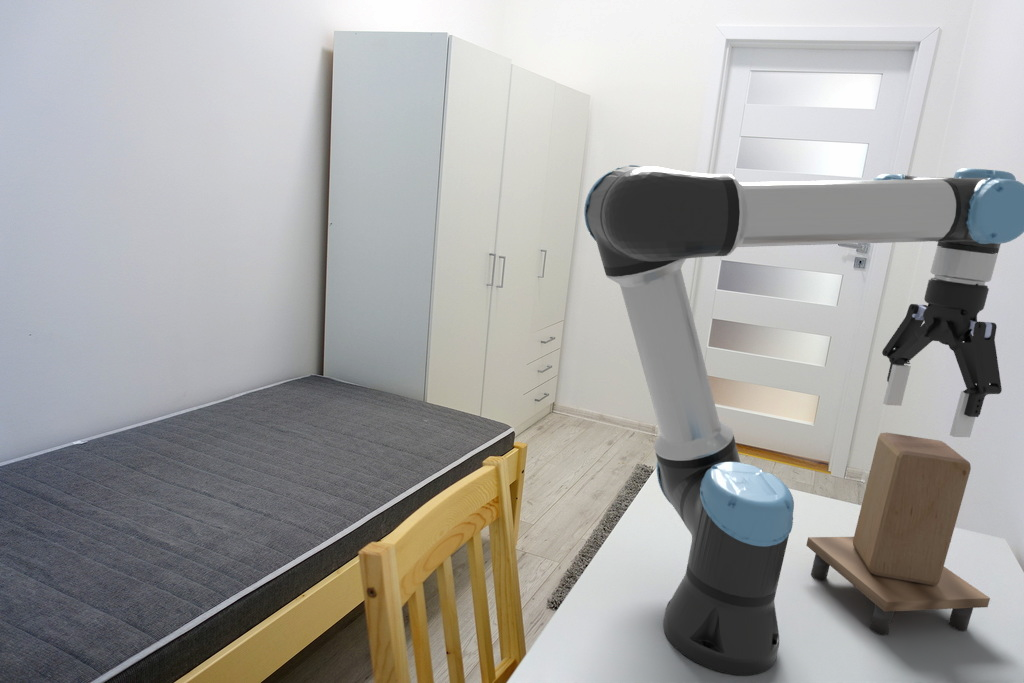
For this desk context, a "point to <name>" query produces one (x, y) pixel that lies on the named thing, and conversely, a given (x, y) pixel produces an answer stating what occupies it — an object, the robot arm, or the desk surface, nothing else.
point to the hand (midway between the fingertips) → (923, 419)
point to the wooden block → (910, 507)
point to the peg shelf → (895, 586)
